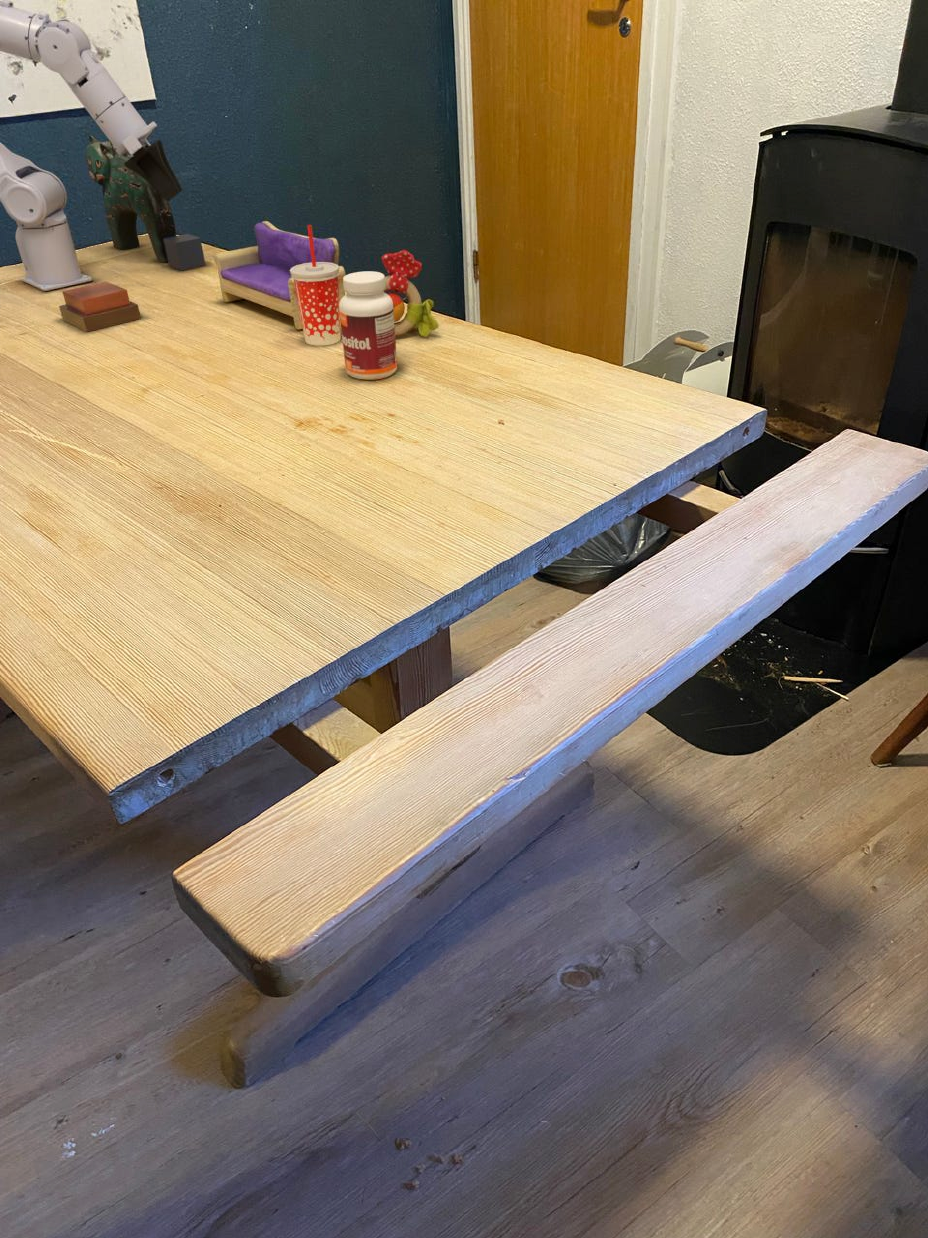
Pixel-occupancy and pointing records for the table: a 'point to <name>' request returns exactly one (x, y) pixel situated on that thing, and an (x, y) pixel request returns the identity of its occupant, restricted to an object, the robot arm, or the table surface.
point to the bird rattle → (407, 294)
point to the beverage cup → (318, 299)
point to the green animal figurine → (129, 200)
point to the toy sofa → (273, 268)
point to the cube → (184, 252)
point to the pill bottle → (367, 326)
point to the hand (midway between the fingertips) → (175, 195)
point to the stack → (98, 306)
